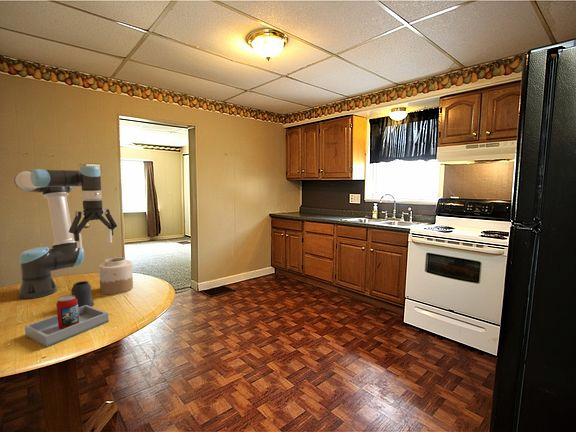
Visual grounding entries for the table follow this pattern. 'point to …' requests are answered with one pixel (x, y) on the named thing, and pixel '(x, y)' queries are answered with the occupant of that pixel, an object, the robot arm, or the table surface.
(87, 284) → the mug
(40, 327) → the bin
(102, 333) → the table surface
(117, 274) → the vase
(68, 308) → the beverage can
